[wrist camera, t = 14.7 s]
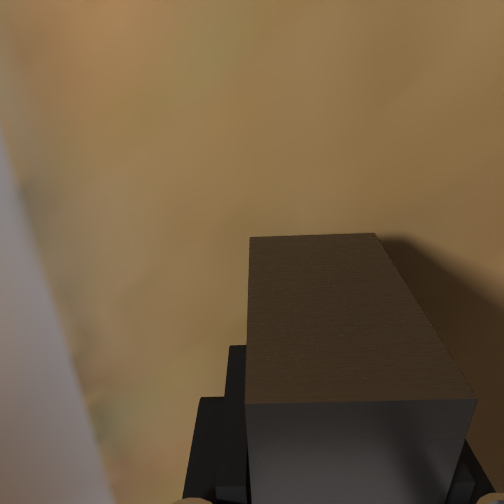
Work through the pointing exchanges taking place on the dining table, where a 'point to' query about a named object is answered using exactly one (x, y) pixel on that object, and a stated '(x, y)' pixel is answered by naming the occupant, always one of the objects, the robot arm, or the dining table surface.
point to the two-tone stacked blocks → (346, 378)
